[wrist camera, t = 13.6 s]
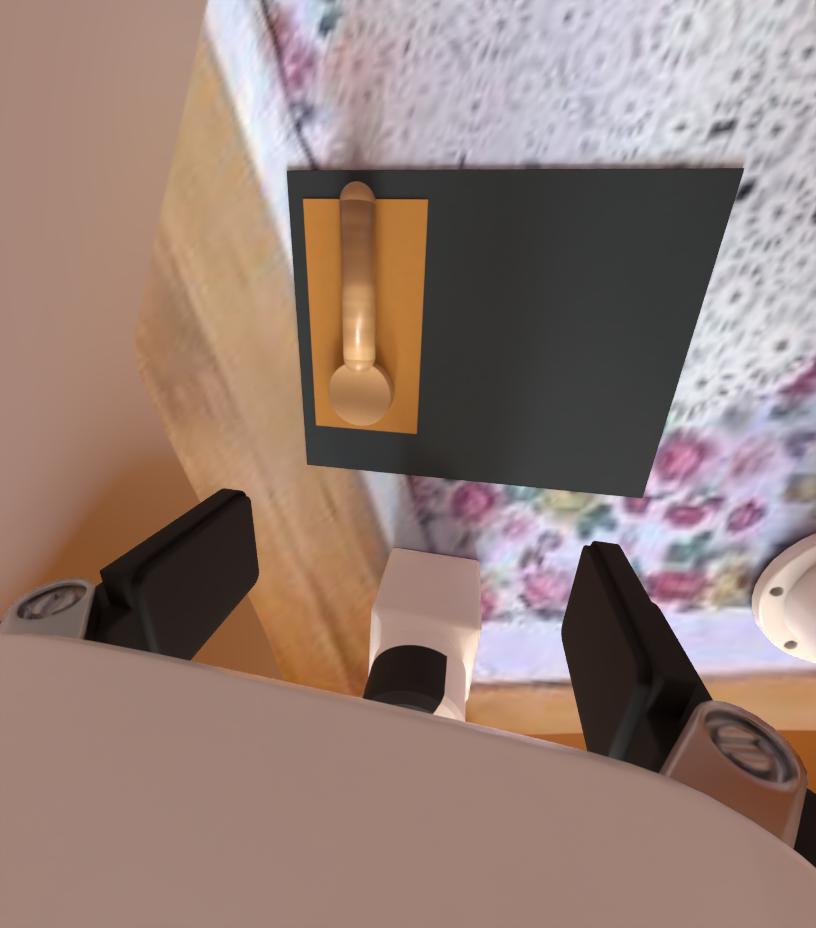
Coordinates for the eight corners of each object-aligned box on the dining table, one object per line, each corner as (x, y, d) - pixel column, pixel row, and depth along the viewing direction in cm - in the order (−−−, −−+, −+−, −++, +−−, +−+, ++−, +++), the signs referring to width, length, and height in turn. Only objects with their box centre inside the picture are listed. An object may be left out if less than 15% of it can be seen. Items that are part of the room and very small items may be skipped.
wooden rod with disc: (326, 187, 24) (313, 176, 22) (399, 187, 23) (392, 176, 21) (335, 418, 30) (325, 426, 28) (393, 422, 29) (387, 431, 27)
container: (387, 612, 37) (346, 759, 25) (392, 545, 34) (347, 676, 22) (468, 626, 36) (465, 786, 24) (480, 558, 33) (484, 703, 21)
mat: (742, 169, 21) (745, 167, 21) (641, 497, 29) (642, 498, 28) (288, 171, 24) (286, 170, 24) (308, 463, 32) (306, 464, 32)
